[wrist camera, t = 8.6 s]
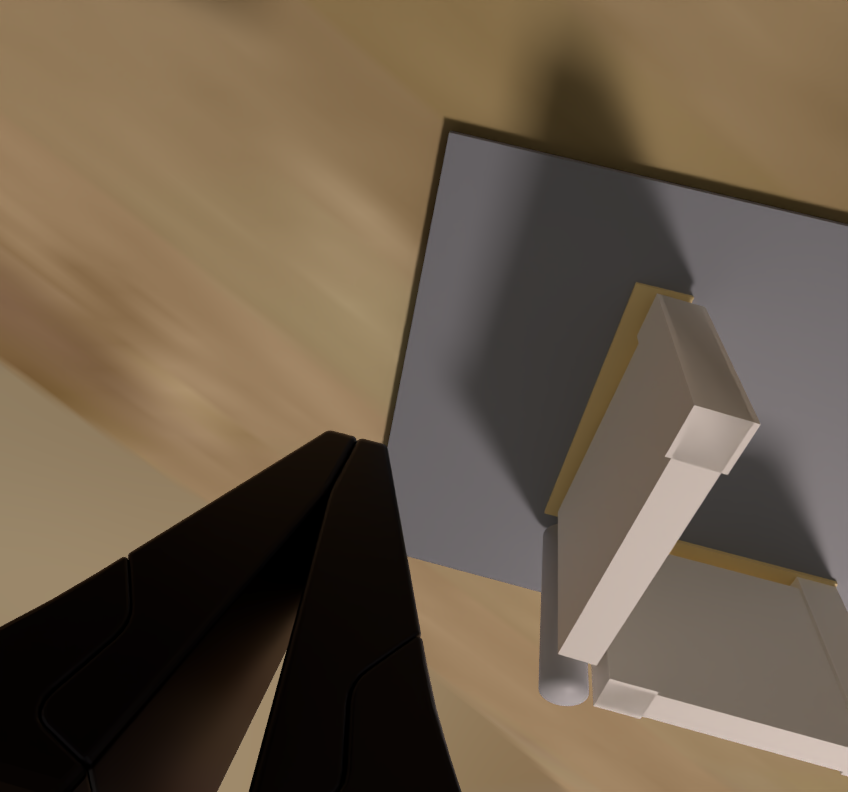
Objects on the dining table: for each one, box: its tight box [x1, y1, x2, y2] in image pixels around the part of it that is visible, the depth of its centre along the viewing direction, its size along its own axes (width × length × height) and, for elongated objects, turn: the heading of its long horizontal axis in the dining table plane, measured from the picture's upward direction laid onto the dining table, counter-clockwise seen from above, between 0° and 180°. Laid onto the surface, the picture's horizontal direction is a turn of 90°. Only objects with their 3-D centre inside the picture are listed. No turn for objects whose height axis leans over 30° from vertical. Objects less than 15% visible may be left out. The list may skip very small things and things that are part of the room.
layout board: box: [387, 131, 848, 612], centre depth 15 cm, size 13×12×1 cm
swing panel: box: [539, 293, 761, 706], centre depth 13 cm, size 8×1×4 cm, turn 167°
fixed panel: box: [591, 554, 848, 776], centre depth 15 cm, size 6×1×4 cm, turn 80°
